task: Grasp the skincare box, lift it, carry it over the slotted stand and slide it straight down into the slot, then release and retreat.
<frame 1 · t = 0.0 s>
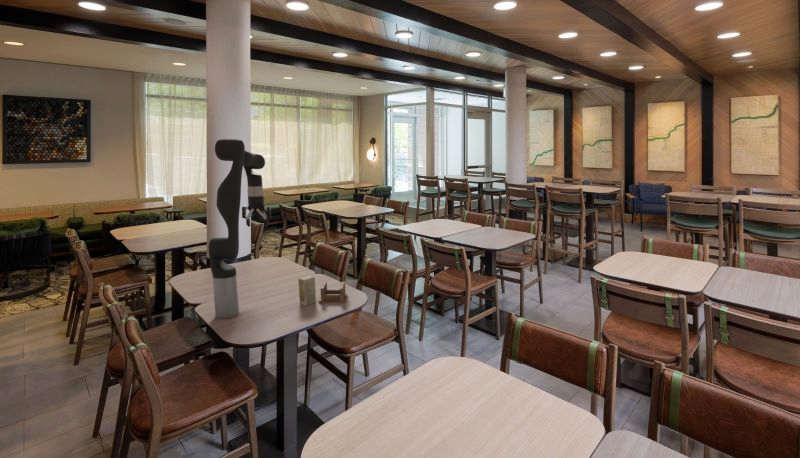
hand: (257, 226, 221), 29 cm above the table, fingers open, 8 cm apart
skincare box: (307, 303, 197), on the table
stand: (333, 299, 201), on the table
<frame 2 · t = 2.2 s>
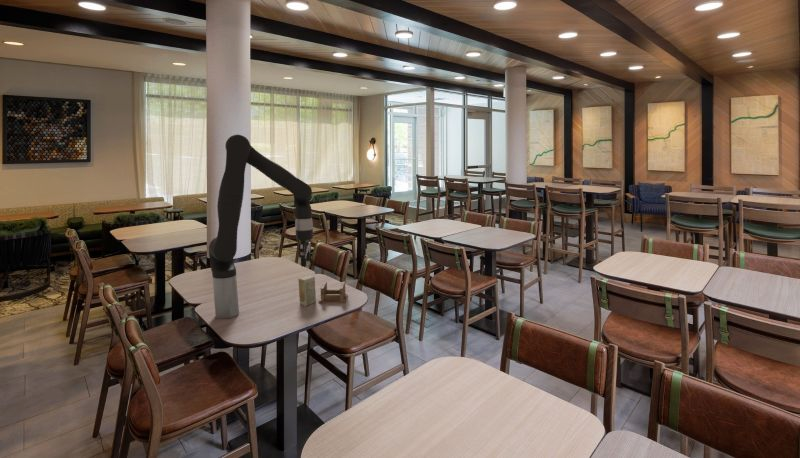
hand: (305, 263, 194), 18 cm above the table, fingers open, 8 cm apart
nothing on the table moved.
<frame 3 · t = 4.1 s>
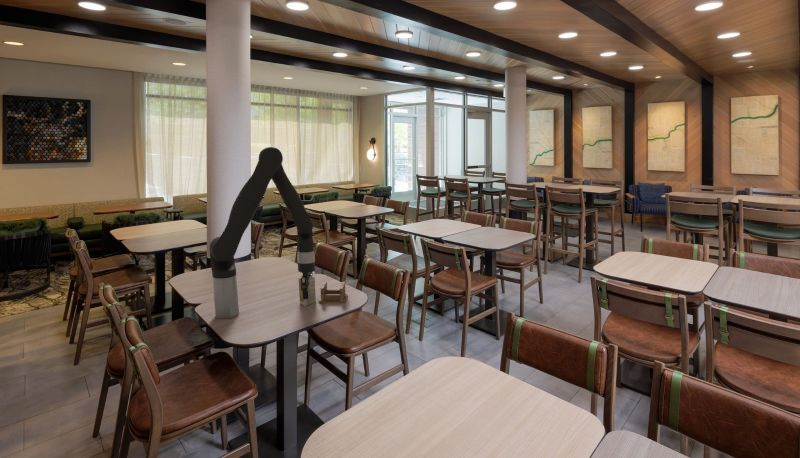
hand: (307, 295, 196), 4 cm above the table, fingers closed on skincare box, 7 cm apart
skincare box: (307, 303, 197), on the table, touching gripper
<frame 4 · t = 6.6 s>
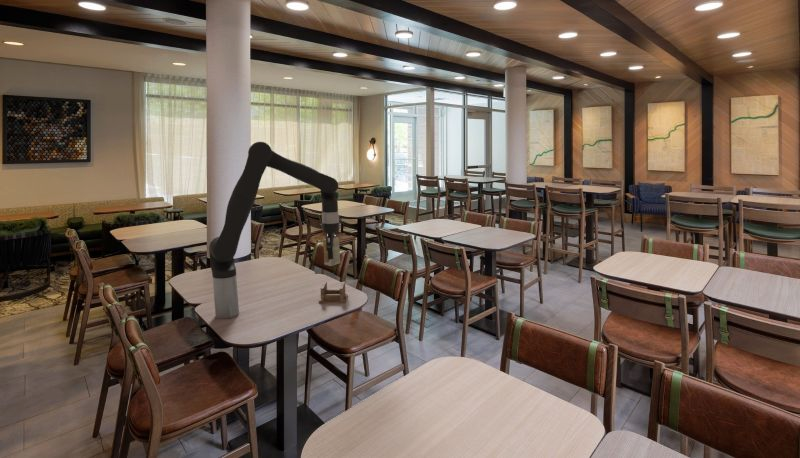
hand: (331, 256, 197), 21 cm above the table, fingers closed on skincare box, 7 cm apart
skincare box: (332, 264, 198), point 17 cm above the table, touching gripper
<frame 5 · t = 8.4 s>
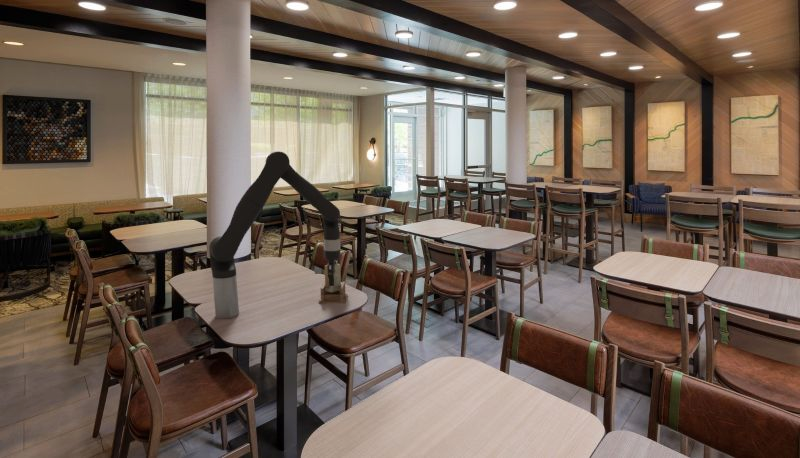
hand: (332, 282, 200), 8 cm above the table, fingers closed on skincare box, 7 cm apart
skincare box: (333, 290, 201), point 4 cm above the table, touching gripper
when the fingers open (7 cm above the table, at t = 9.4 s): skincare box stays where it is, resting on stand.
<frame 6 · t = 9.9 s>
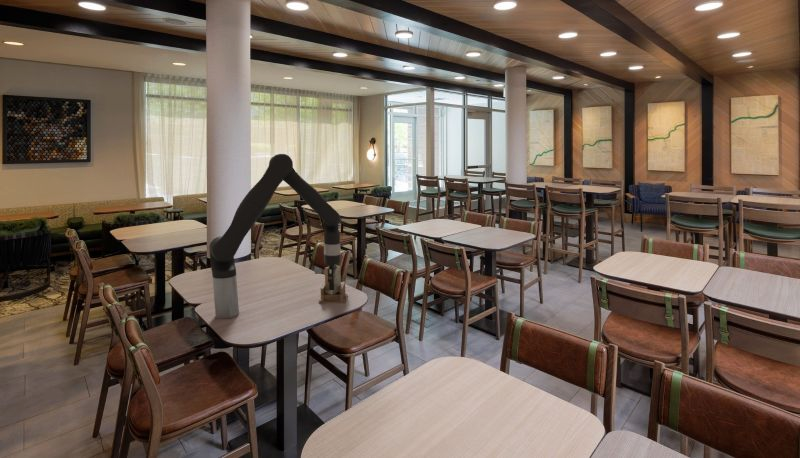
hand: (333, 286, 200), 6 cm above the table, fingers open, 8 cm apart
skincare box: (333, 292, 201), point 3 cm above the table, touching stand
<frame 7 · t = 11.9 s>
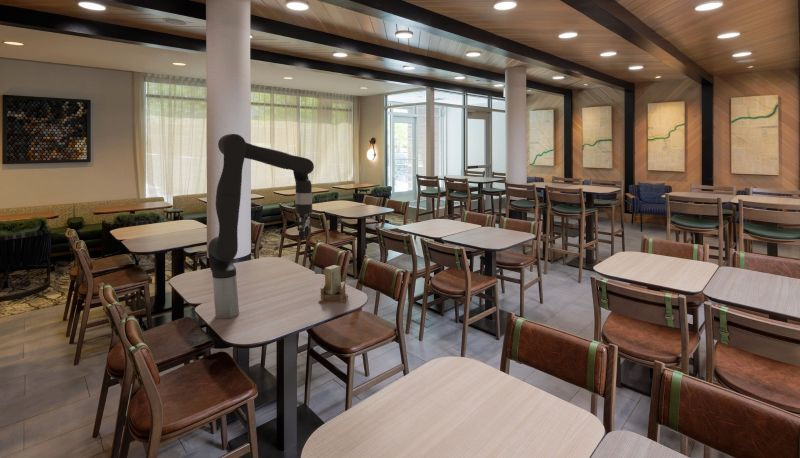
hand: (304, 237, 199), 29 cm above the table, fingers open, 8 cm apart
nothing on the table moved.
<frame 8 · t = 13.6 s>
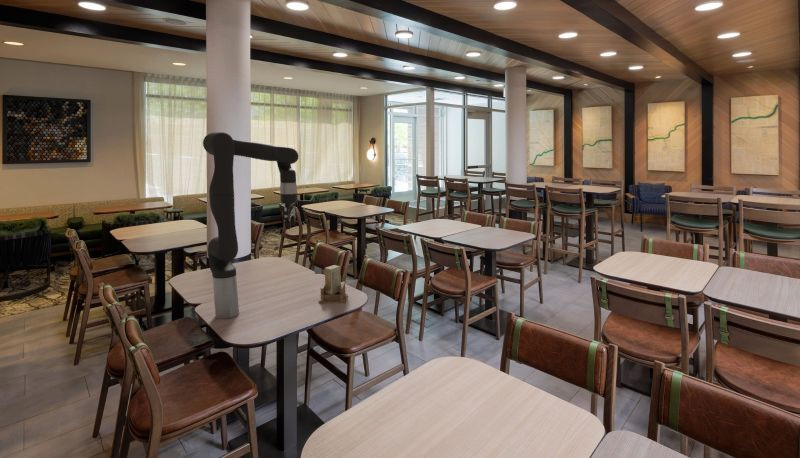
hand: (290, 227, 200), 33 cm above the table, fingers open, 8 cm apart
nothing on the table moved.
at the end: skincare box 0.1 cm off-centre on the stand, point 3.3 cm above the stand's base; skincare box tilted 0°; the gripper is holding nothing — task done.
